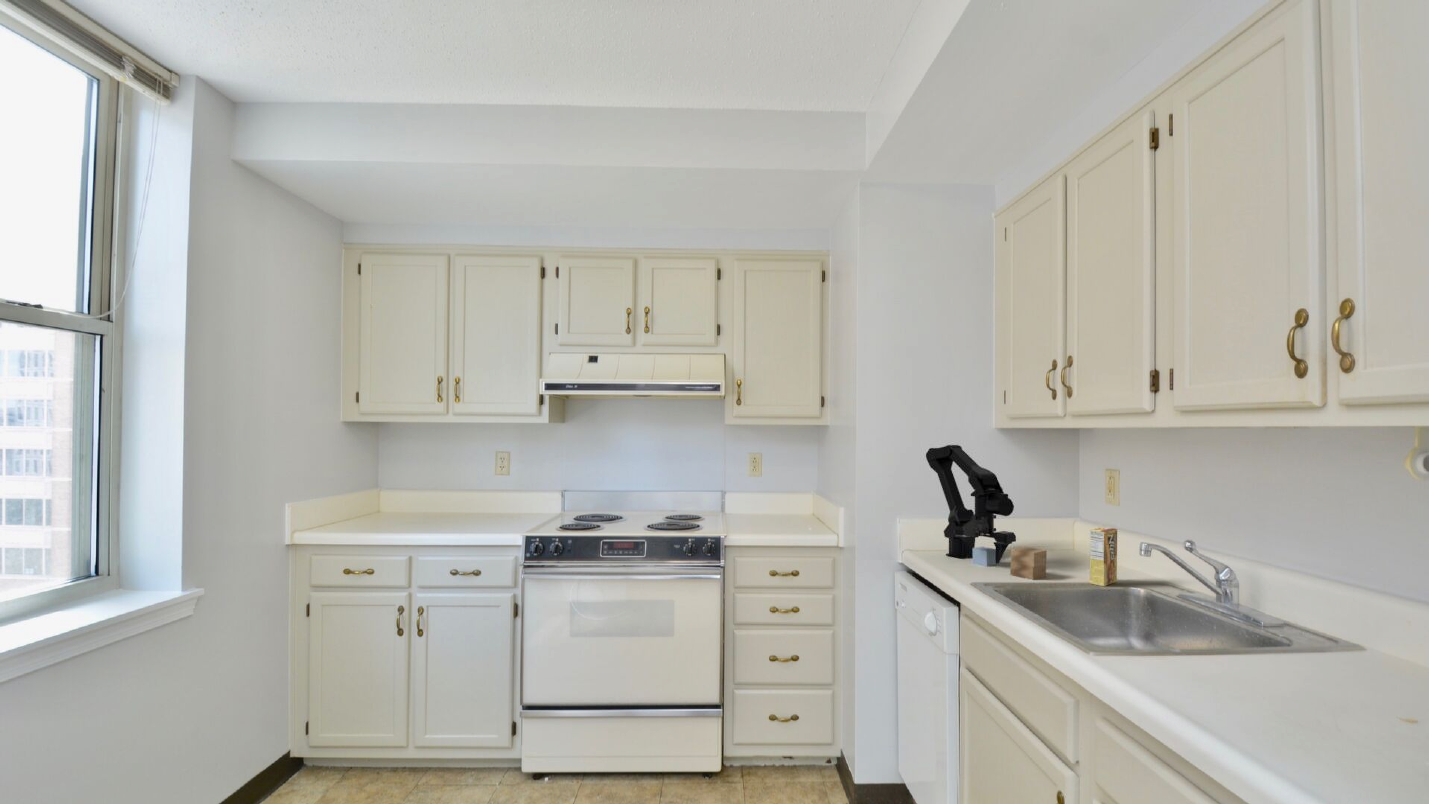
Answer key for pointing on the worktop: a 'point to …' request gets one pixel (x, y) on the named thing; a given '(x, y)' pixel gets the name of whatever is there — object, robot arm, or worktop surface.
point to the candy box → (1103, 556)
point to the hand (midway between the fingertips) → (984, 560)
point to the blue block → (984, 556)
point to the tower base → (1028, 571)
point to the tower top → (1028, 556)
